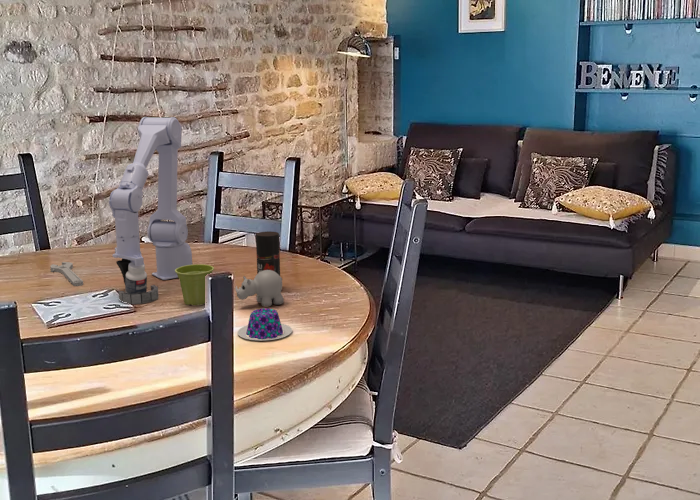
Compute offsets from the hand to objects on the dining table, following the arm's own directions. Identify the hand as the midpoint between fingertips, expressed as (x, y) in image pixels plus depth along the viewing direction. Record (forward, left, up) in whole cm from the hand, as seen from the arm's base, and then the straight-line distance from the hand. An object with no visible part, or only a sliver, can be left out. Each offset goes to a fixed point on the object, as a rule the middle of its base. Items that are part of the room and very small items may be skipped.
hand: (130, 287), depth 204 cm
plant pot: (-10, +17, -2) cm, 20 cm away
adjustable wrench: (+7, -30, -3) cm, 31 cm away
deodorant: (-30, +18, -2) cm, 35 cm away
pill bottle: (0, +2, -2) cm, 3 cm away
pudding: (-11, +47, -3) cm, 49 cm away
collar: (0, +6, -2) cm, 6 cm away
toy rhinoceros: (-21, +28, -2) cm, 35 cm away
